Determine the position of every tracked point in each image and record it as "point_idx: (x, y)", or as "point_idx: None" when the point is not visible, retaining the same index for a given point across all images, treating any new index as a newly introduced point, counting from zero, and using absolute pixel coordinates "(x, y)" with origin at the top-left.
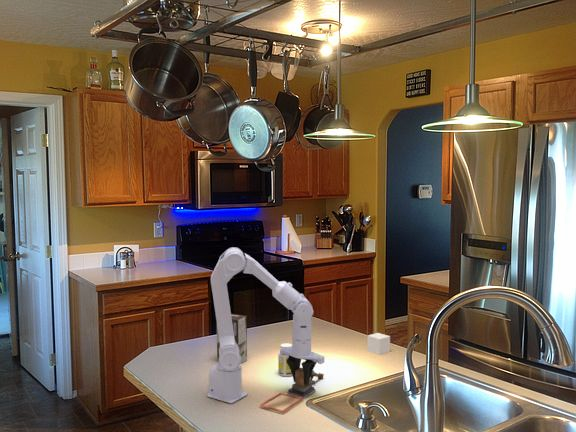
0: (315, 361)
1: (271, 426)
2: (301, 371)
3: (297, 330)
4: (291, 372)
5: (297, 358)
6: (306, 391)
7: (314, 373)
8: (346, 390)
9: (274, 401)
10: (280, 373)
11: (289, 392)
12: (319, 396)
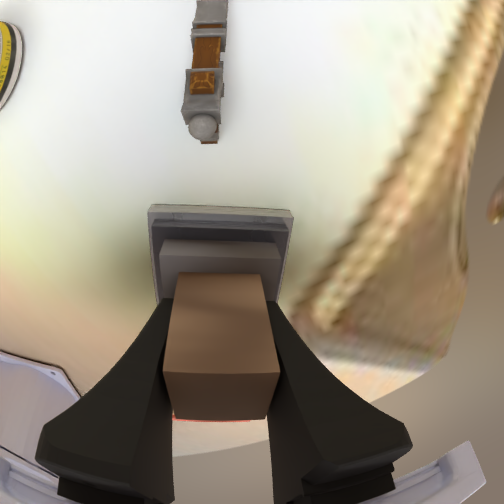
0: (397, 484)
1: (259, 439)
2: (235, 416)
3: None
4: (4, 75)
5: (156, 498)
6: None
7: (221, 78)
8: (443, 113)
9: None
10: None
11: None
12: (333, 256)
